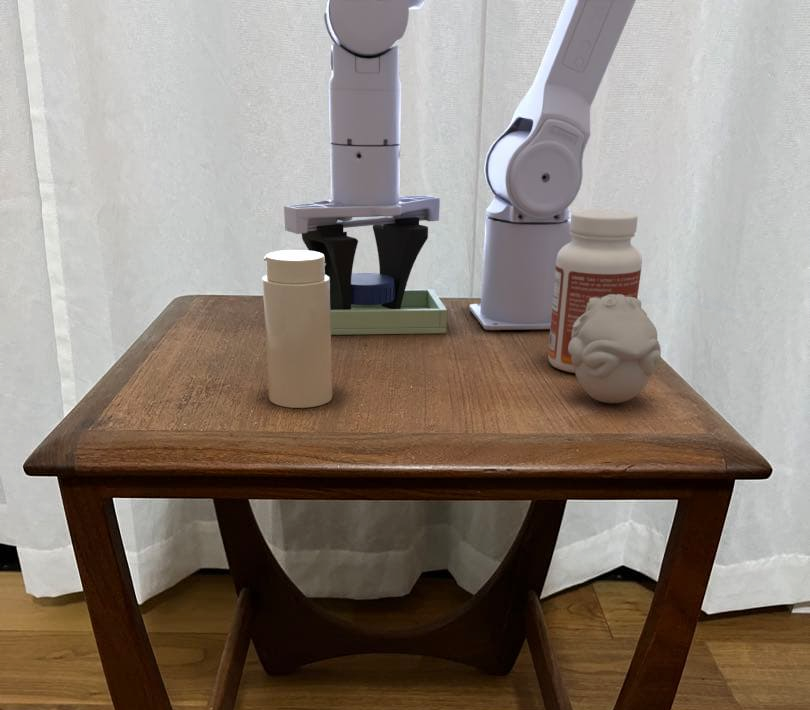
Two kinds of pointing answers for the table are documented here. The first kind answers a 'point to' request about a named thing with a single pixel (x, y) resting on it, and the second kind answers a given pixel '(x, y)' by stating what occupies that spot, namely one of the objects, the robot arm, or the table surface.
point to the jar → (297, 328)
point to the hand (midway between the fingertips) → (365, 312)
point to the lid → (371, 289)
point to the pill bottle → (591, 272)
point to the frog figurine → (614, 348)
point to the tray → (394, 316)
